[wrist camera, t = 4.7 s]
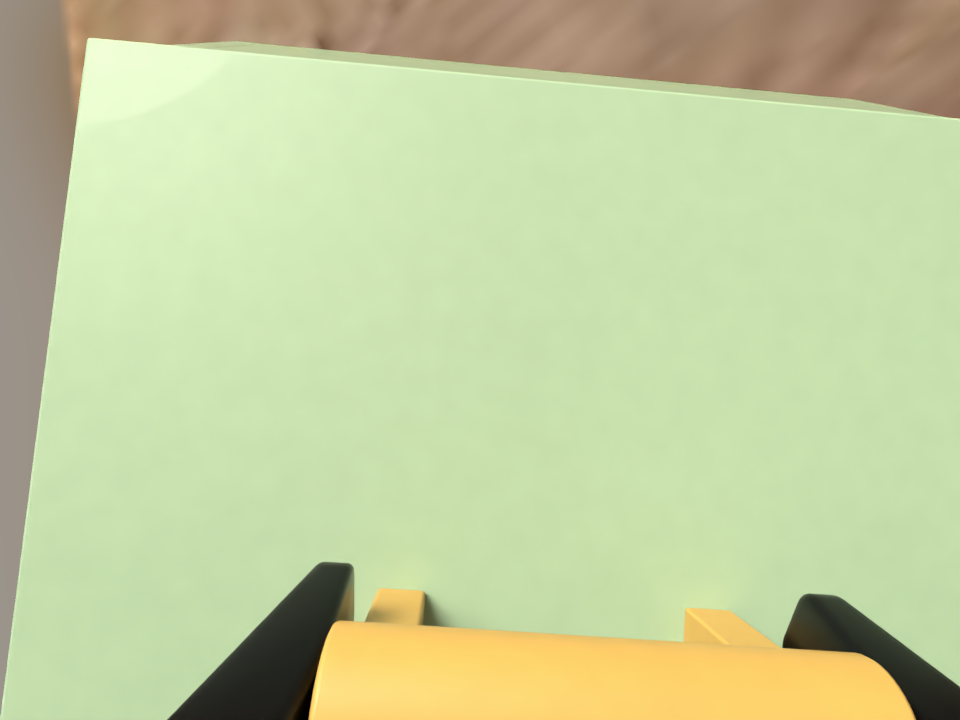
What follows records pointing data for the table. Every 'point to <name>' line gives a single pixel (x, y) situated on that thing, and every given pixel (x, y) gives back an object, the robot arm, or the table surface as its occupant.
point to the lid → (491, 393)
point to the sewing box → (550, 76)
